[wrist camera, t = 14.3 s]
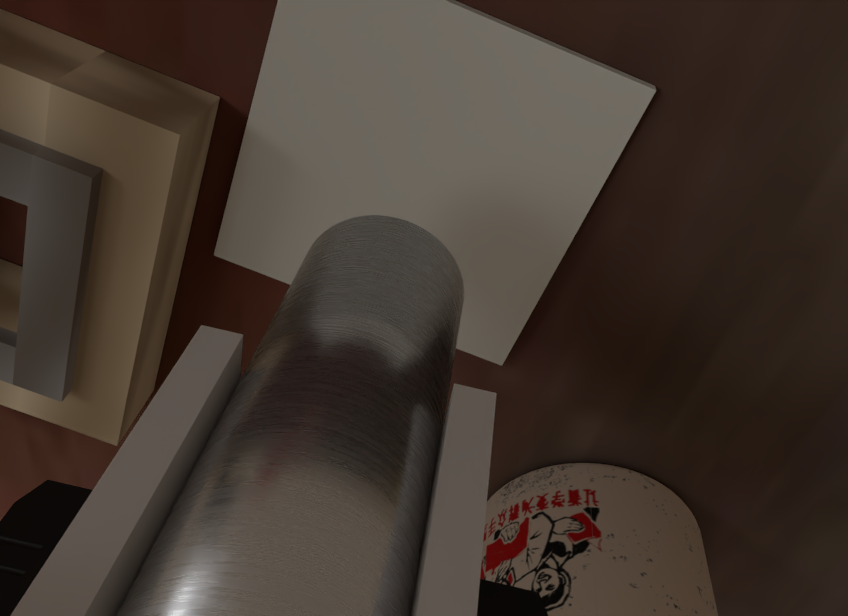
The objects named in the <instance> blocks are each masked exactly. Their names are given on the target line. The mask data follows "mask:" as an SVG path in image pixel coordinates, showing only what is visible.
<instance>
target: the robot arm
mask: <svg viewBox="0 0 848 616" xmlns="http://www.w3.org/2000/svg"><path fill="white" fill-rule="evenodd" d="M242 348H243V334H239V333H234V332H230V331H226V330H221V329H217V328H213V327H208V326H204V325H201V326H200V328H199V329H198V331H197V332H196V334H195V335H194V337H193V338H192V340H191V341H190V343H189V344H188V346H187V347H186V349H185V350H184V352H183V354H182V355H181V357H180V358H179V360H178V361H177V363H176V364H175V366H174V367H173V369H172V370H171V372H170V373H169V375H168V376H167V378H166V379H165V381H164V382H163V384H162V385H161V387H160V389H159V390H158V392H157V393H156V395H155V396H154V398H153V399H152V401H151V402H150V404H149V405H148V407H147V408H146V410H145V411H144V413H143V414H142V416H141V417H140V419H139V421H138V422H137V424H136V425H135V427H134V428H133V430H132V431H131V433H130V434H129V436H128V437H127V439H126V440H125V442H124V443H123V445H122V446H121V448H120V449H119V451H118V453H117V454H116V456H115V457H114V459H113V460H112V462H111V463H110V465H109V466H108V468H107V469H106V471H105V472H104V474H103V475H102V477H101V478H100V480H99V481H98V483H97V484H96V486H95V488H94V489H93V490H90V489H85V488H81V487H77V486H73V485H68V484H64V483H60V482H55V481H51V480H47V481H45V482H44V483H42V484H41V485H40V486H38V487H37V488H35V489H34V490H32V491H31V492H29V493H28V494H26V495H25V496H24V497H22V498H21V499H19V500H18V501H16V502H15V503H14V504H13V505H12V507H11V508H10V509H9V511H8V512H7V513H6V515H5V516H4V517H3V519H2V520H1V521H0V616H116V614H117V613H118V611H119V609H120V607H121V605H122V603H123V601H124V599H125V597H126V596H127V594H128V592H129V590H130V588H131V586H132V584H133V582H134V580H135V578H136V577H137V575H138V573H139V571H140V569H141V567H142V565H143V563H144V561H145V560H146V558H147V556H148V554H149V552H150V550H151V548H152V546H153V544H154V542H155V541H156V539H157V537H158V535H159V533H160V531H161V529H162V527H163V525H164V524H165V522H166V520H167V518H168V516H169V514H170V512H171V510H172V508H173V507H174V505H175V503H176V501H177V499H178V497H179V495H180V493H181V491H182V489H183V488H184V486H185V484H186V482H187V480H188V478H189V476H190V474H191V472H192V471H193V469H194V467H195V465H196V463H197V461H198V459H199V457H200V455H201V453H202V452H203V450H204V448H205V446H206V444H207V442H208V440H209V438H210V436H211V435H212V433H213V431H214V429H215V427H216V425H217V423H218V421H219V419H220V418H221V416H222V414H223V412H224V410H225V408H226V406H227V404H228V402H229V400H230V399H231V397H232V395H233V393H234V391H235V389H236V387H237V385H238V383H239V382H240V377H241V363H242ZM495 404H496V393H494V392H489V391H485V390H481V389H476V388H472V387H468V386H464V385H459V384H455V383H454V386H453V389H452V393H451V397H450V401H449V404H448V408H447V412H446V415H445V419H444V423H443V427H442V431H441V437H440V442H439V448H438V454H437V460H436V466H435V472H434V478H433V484H432V490H431V496H430V501H429V507H428V513H427V519H426V525H425V531H424V537H423V543H422V549H421V555H420V560H419V566H418V572H417V578H416V584H415V590H414V596H413V602H412V608H411V613H410V616H548V614H547V611H546V609H545V606H544V604H543V601H542V599H541V596H540V594H539V592H535V591H531V590H526V589H522V588H518V587H514V586H509V585H505V584H501V583H497V582H492V581H488V580H484V579H480V574H481V563H482V551H483V540H484V529H485V517H486V506H487V495H488V483H489V472H490V461H491V449H492V438H493V427H494V416H495Z"/></svg>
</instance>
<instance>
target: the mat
mask: <svg viewBox="0 0 848 616" xmlns="http://www.w3.org/2000/svg"><path fill="white" fill-rule="evenodd" d="M655 92H656V88H655V86H654V85H652V84H650V83H647V82H645V81H643V80H640V79H638V78H636V77H633V76H631V75H629V74H626V73H624V72H622V71H619V70H617V69H614V68H612V67H610V66H607V65H605V64H603V63H600V62H598V61H596V60H593V59H591V58H589V57H586V56H584V55H582V54H579V53H577V52H575V51H572V50H570V49H568V48H565V47H563V46H561V45H558V44H556V43H554V42H551V41H549V40H547V39H544V38H542V37H540V36H537V35H535V34H533V33H530V32H528V31H526V30H523V29H521V28H519V27H516V26H514V25H512V24H509V23H507V22H505V21H502V20H500V19H498V18H495V17H493V16H490V15H488V14H486V13H483V12H481V11H479V10H476V9H474V8H472V7H469V6H467V5H465V4H462V3H460V2H458V1H455V0H278V2H277V6H276V10H275V14H274V18H273V22H272V26H271V30H270V34H269V38H268V42H267V46H266V50H265V54H264V58H263V62H262V66H261V69H260V73H259V77H258V81H257V85H256V89H255V93H254V97H253V101H252V105H251V109H250V113H249V117H248V121H247V125H246V129H245V133H244V137H243V141H242V145H241V149H240V153H239V157H238V160H237V164H236V168H235V172H234V176H233V180H232V184H231V188H230V192H229V196H228V200H227V204H226V208H225V212H224V216H223V220H222V224H221V228H220V232H219V236H218V240H217V244H216V248H215V252H214V256H217V257H219V258H222V259H224V260H227V261H230V262H232V263H235V264H238V265H240V266H243V267H245V268H248V269H251V270H253V271H256V272H258V273H261V274H264V275H266V276H269V277H271V278H274V279H277V280H279V281H282V282H284V283H287V284H290V285H291V283H292V281H293V279H294V277H295V276H296V274H297V272H298V270H299V268H300V266H301V264H302V262H303V260H304V258H305V257H306V255H307V253H308V251H309V249H310V247H311V246H312V244H313V243H314V242H315V240H316V239H317V238H318V237H319V236H320V235H321V234H322V233H323V232H324V231H326V230H327V229H329V228H330V227H332V226H333V225H335V224H337V223H339V222H341V221H344V220H347V219H350V218H354V217H359V216H367V215H382V216H390V217H396V218H399V219H403V220H406V221H409V222H411V223H413V224H416V225H418V226H420V227H421V228H423V229H425V230H427V231H428V232H429V233H431V234H432V235H433V236H435V237H436V238H437V239H438V240H439V241H440V242H441V243H443V244H444V246H445V247H446V248H447V249H448V250H449V252H450V253H451V254H452V256H453V258H454V259H455V261H456V263H457V265H458V267H459V269H460V272H461V275H462V279H463V284H464V303H463V309H462V315H461V320H460V326H459V332H458V338H457V344H456V348H457V349H459V350H462V351H464V352H467V353H470V354H472V355H475V356H477V357H480V358H483V359H485V360H488V361H490V362H493V363H496V364H498V365H501V366H502V365H503V363H504V361H505V359H506V358H507V356H508V354H509V352H510V351H511V349H512V347H513V345H514V343H515V342H516V340H517V338H518V336H519V334H520V333H521V331H522V329H523V327H524V326H525V324H526V322H527V320H528V318H529V317H530V315H531V313H532V311H533V310H534V308H535V306H536V304H537V302H538V301H539V299H540V297H541V295H542V293H543V292H544V290H545V288H546V286H547V285H548V283H549V281H550V279H551V277H552V276H553V274H554V272H555V270H556V269H557V267H558V265H559V263H560V261H561V260H562V258H563V256H564V254H565V252H566V251H567V249H568V247H569V245H570V244H571V242H572V240H573V238H574V236H575V235H576V233H577V231H578V229H579V228H580V226H581V224H582V222H583V220H584V219H585V217H586V215H587V213H588V211H589V210H590V208H591V206H592V204H593V203H594V201H595V199H596V197H597V195H598V194H599V192H600V190H601V188H602V186H603V185H604V183H605V181H606V179H607V178H608V176H609V174H610V172H611V170H612V169H613V167H614V165H615V163H616V162H617V160H618V158H619V156H620V154H621V153H622V151H623V149H624V147H625V145H626V144H627V142H628V140H629V138H630V137H631V135H632V133H633V131H634V129H635V128H636V126H637V124H638V122H639V121H640V119H641V117H642V115H643V113H644V112H645V110H646V108H647V106H648V104H649V103H650V101H651V99H652V97H653V96H654V94H655Z"/></svg>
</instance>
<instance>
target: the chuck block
mask: <svg viewBox="0 0 848 616" xmlns="http://www.w3.org/2000/svg"><path fill="white" fill-rule="evenodd" d="M219 100H220V97H219V96H216V95H214V94H211V93H209V92H206V91H204V90H201V89H199V88H196V87H194V86H191V85H189V84H186V83H184V82H181V81H179V80H176V79H174V78H171V77H169V76H166V75H164V74H161V73H159V72H157V71H154V70H152V69H149V68H147V67H144V66H142V65H139V64H137V63H134V62H132V61H129V60H127V59H124V58H122V57H119V56H117V55H114V54H112V53H109V52H107V51H104V50H102V49H99V48H97V47H95V46H92V45H90V44H87V43H85V42H82V41H80V40H77V39H75V38H72V37H70V36H67V35H65V34H62V33H60V32H57V31H55V30H52V29H50V28H47V27H45V26H42V25H40V24H37V23H35V22H32V21H30V20H28V19H25V18H23V17H20V16H18V15H15V14H13V13H10V12H8V11H5V10H3V9H0V196H2V197H5V198H7V199H10V200H13V201H15V202H18V203H21V204H23V205H26V206H28V210H27V222H26V234H25V245H24V257H23V267H22V266H19V265H16V264H14V263H11V262H8V261H5V260H3V259H0V405H3V406H6V407H9V408H12V409H15V410H17V411H20V412H23V413H26V414H29V415H31V416H34V417H37V418H40V419H43V420H45V421H48V422H51V423H54V424H57V425H59V426H62V427H65V428H68V429H71V430H74V431H76V432H79V433H82V434H85V435H88V436H90V437H93V438H96V439H99V440H102V441H104V442H107V443H110V444H113V445H116V446H118V444H119V442H120V441H121V439H122V438H123V436H124V435H125V433H126V432H127V430H128V429H129V427H130V426H131V424H132V423H133V421H134V420H135V418H136V417H137V415H138V413H139V412H140V410H141V409H142V407H143V406H144V404H145V403H146V401H147V400H148V398H149V397H150V395H151V394H152V392H153V391H154V387H155V382H156V378H157V373H158V369H159V365H160V360H161V356H162V351H163V347H164V343H165V338H166V334H167V329H168V325H169V321H170V316H171V312H172V307H173V303H174V299H175V294H176V290H177V285H178V281H179V277H180V272H181V268H182V263H183V259H184V255H185V250H186V246H187V241H188V237H189V232H190V228H191V224H192V219H193V215H194V210H195V206H196V202H197V197H198V193H199V188H200V184H201V180H202V175H203V171H204V166H205V162H206V158H207V153H208V149H209V144H210V140H211V136H212V131H213V127H214V122H215V118H216V114H217V109H218V105H219Z"/></svg>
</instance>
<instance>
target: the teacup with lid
mask: <svg viewBox="0 0 848 616" xmlns="http://www.w3.org/2000/svg"><path fill="white" fill-rule="evenodd" d="M480 579H484V580H488V581H492V582H497V583H501V584H505V585H509V586H514V587H518V588H522V589H526V590H531V591H535V592H539V594H540V596H541V599H542V601H543V604H544V606H545V609H546V611H547V614H548V616H718V612H717V608H716V603H715V598H714V593H713V588H712V584H711V579H710V574H709V569H708V565H707V560H706V555H705V550H704V546H703V541H702V536H701V532H700V529H699V526H698V524H697V521H696V519H695V517H694V516H693V514H692V512H691V511H690V509H689V508H688V507H687V505H686V504H685V503H684V502H683V501H682V500H681V499H680V498H679V497H678V496H677V495H676V494H675V493H674V492H672V491H671V490H670V489H668V488H667V487H666V486H664V485H663V484H661V483H659V482H657V481H656V480H654V479H652V478H650V477H647V476H645V475H643V474H641V473H638V472H635V471H633V470H629V469H626V468H622V467H618V466H613V465H607V464H599V463H567V464H559V465H553V466H549V467H544V468H541V469H537V470H534V471H531V472H529V473H526V474H524V475H522V476H520V477H518V478H516V479H514V480H512V481H510V482H509V483H507V484H506V485H504V486H503V487H502V488H500V489H499V490H498V491H497V492H496V493H495V494H494V495H493V496H492V497H491V498H490V499H489V500H488V501H487V506H486V517H485V529H484V540H483V551H482V563H481V574H480Z"/></svg>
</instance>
